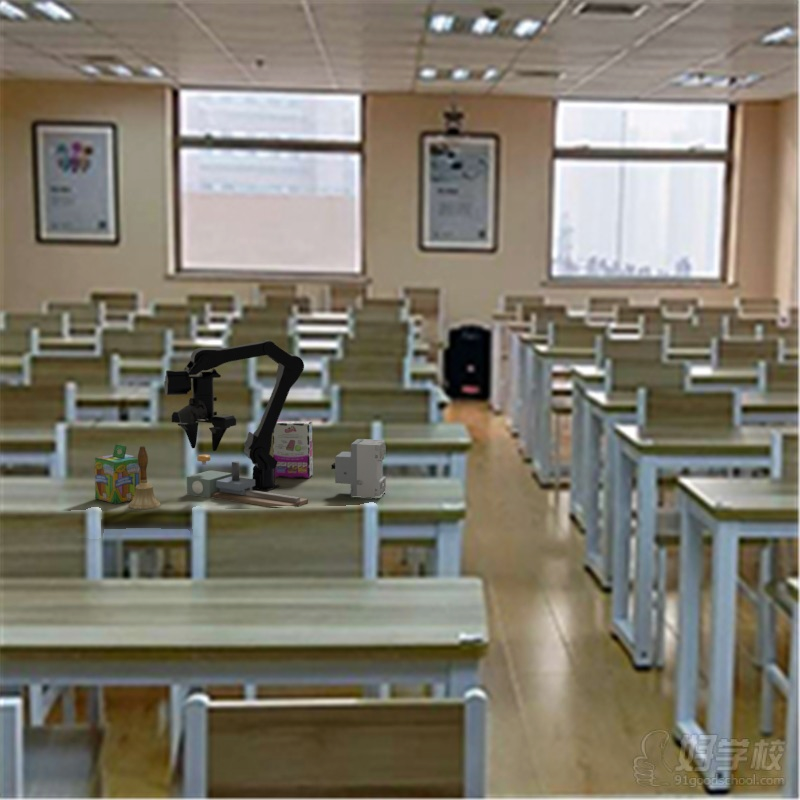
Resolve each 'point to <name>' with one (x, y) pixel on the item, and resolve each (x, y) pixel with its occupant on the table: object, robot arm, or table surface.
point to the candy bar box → (293, 449)
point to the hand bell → (143, 486)
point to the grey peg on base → (235, 482)
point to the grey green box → (205, 483)
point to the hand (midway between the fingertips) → (204, 449)
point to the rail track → (261, 498)
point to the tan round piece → (203, 458)
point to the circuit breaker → (362, 468)
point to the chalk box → (116, 476)
